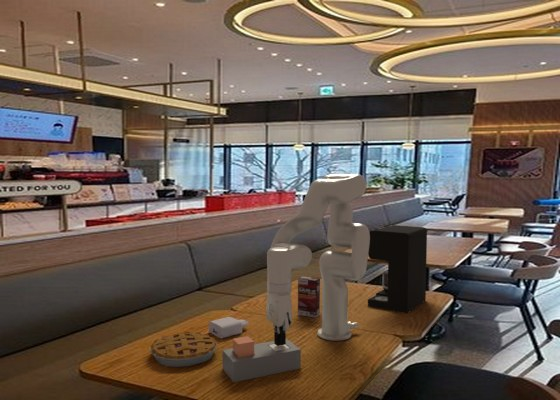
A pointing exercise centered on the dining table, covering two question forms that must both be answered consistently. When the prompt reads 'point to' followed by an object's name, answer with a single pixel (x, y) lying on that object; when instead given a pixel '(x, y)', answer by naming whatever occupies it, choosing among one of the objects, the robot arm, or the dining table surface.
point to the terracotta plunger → (243, 347)
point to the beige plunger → (278, 347)
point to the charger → (226, 327)
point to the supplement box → (308, 296)
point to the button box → (261, 361)
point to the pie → (183, 349)
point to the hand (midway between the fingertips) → (280, 344)
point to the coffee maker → (400, 266)
